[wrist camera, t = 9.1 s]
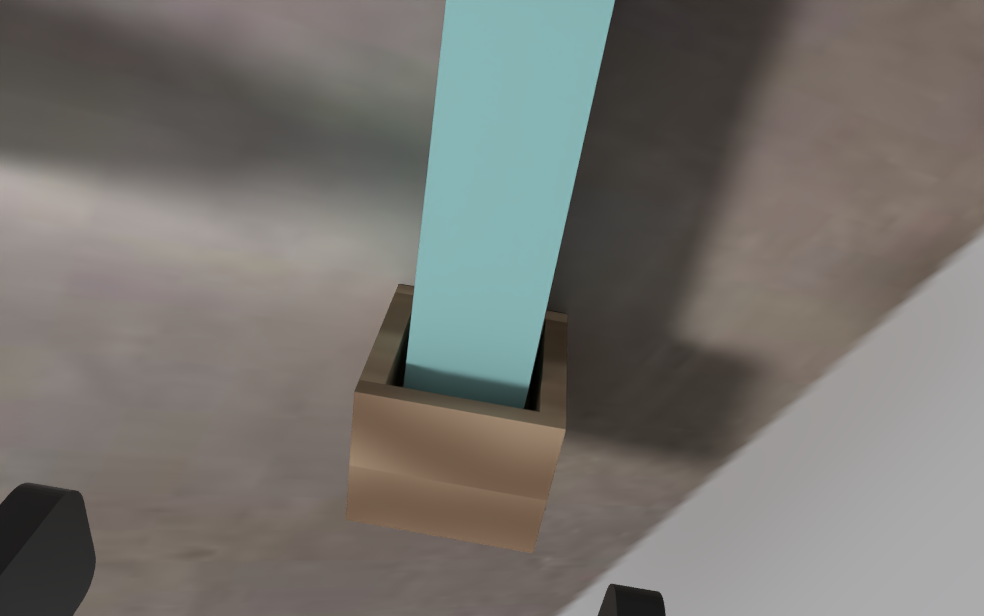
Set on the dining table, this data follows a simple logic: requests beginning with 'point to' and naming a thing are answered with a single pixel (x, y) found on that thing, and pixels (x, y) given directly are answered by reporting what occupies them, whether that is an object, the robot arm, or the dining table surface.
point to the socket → (455, 445)
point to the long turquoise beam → (499, 189)
